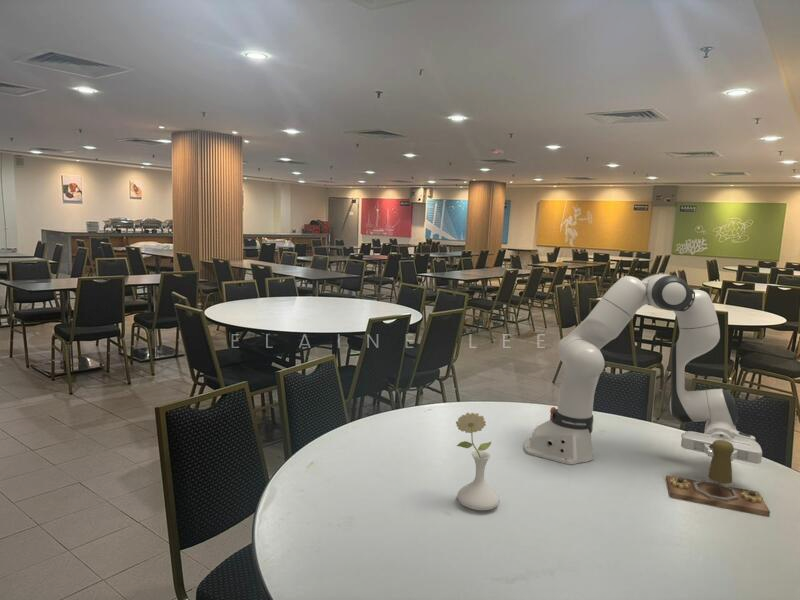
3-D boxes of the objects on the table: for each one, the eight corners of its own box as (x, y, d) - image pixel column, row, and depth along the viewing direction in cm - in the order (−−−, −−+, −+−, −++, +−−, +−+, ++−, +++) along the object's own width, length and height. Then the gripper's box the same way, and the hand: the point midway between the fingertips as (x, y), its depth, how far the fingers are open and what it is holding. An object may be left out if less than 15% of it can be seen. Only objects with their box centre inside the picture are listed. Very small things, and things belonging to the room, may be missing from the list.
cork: (734, 485, 149) (738, 447, 147) (710, 481, 151) (713, 444, 149) (729, 475, 154) (732, 439, 153) (705, 472, 156) (708, 436, 155)
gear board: (670, 497, 152) (671, 485, 152) (665, 479, 163) (667, 468, 163) (769, 516, 144) (771, 503, 144) (757, 496, 155) (759, 484, 155)
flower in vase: (502, 498, 148) (508, 410, 145) (495, 518, 137) (502, 424, 134) (456, 488, 152) (461, 403, 149) (446, 508, 141) (451, 416, 138)
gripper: (682, 422, 168) (679, 437, 156) (761, 437, 158) (764, 454, 146) (680, 442, 169) (677, 457, 157) (758, 458, 158) (761, 476, 147)
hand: (720, 456), depth 151 cm, fingers closed on cork, 3 cm apart
